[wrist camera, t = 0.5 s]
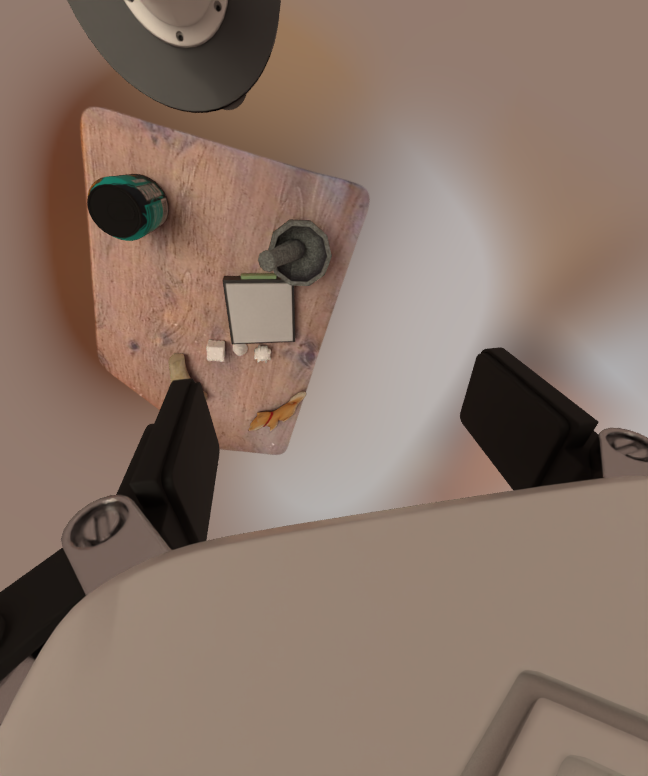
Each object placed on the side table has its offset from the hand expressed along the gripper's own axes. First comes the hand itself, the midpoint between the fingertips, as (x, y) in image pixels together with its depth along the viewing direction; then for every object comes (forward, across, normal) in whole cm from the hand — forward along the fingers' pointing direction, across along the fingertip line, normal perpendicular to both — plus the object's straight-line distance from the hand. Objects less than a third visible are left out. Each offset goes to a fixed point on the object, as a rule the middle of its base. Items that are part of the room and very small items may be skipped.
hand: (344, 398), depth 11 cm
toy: (+49, +3, +42) cm, 65 cm away
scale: (+50, +5, +16) cm, 53 cm away
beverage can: (+51, +20, -2) cm, 54 cm away
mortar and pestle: (+51, -2, +5) cm, 51 cm away
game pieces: (+51, +10, +24) cm, 57 cm away
